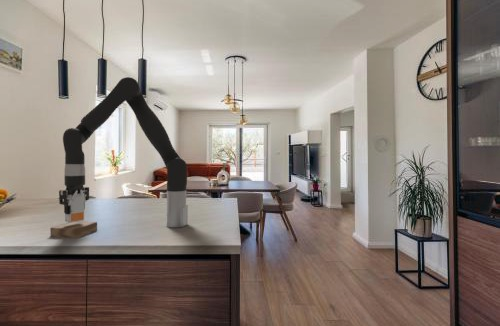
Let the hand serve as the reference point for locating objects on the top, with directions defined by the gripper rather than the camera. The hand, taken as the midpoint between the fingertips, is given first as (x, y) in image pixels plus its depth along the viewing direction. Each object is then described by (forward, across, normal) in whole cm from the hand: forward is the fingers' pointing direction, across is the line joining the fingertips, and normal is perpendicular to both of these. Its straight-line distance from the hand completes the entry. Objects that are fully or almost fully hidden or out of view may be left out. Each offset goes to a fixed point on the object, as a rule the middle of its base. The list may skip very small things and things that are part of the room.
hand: (75, 212), depth 114 cm
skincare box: (+4, 0, 0) cm, 4 cm away
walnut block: (+10, 0, 0) cm, 10 cm away
